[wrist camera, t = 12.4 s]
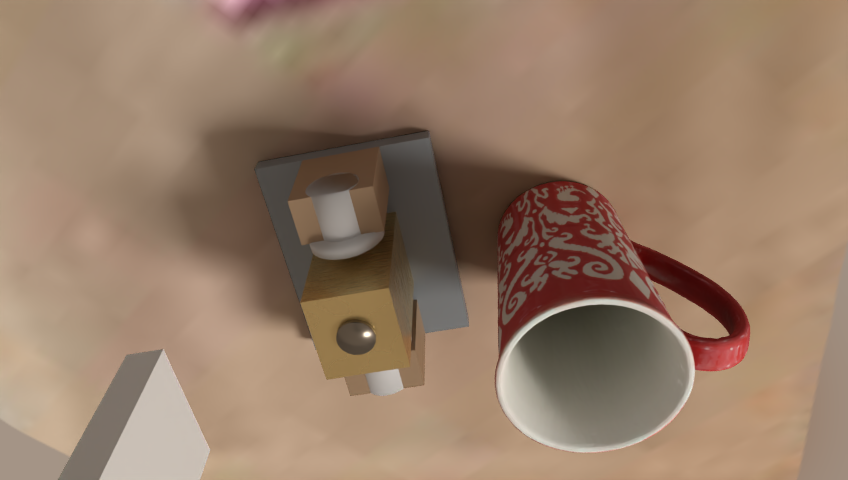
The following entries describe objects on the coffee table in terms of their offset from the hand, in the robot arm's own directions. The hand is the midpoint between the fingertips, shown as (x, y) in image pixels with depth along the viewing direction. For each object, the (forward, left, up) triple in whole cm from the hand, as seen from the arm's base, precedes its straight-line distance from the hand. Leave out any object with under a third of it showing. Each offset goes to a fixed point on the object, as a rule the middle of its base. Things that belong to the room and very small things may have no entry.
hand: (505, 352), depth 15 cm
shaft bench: (+13, -8, -29) cm, 33 cm away
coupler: (+13, -8, -28) cm, 32 cm away
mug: (+15, +5, -29) cm, 33 cm away
